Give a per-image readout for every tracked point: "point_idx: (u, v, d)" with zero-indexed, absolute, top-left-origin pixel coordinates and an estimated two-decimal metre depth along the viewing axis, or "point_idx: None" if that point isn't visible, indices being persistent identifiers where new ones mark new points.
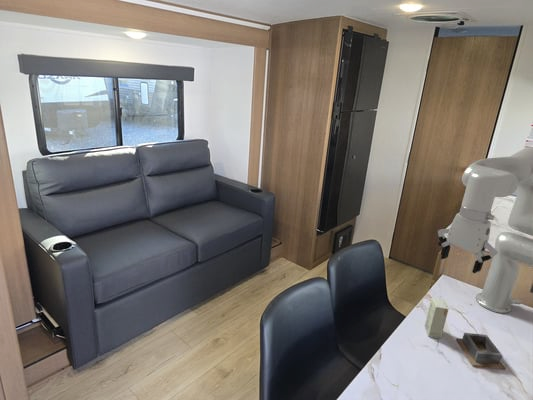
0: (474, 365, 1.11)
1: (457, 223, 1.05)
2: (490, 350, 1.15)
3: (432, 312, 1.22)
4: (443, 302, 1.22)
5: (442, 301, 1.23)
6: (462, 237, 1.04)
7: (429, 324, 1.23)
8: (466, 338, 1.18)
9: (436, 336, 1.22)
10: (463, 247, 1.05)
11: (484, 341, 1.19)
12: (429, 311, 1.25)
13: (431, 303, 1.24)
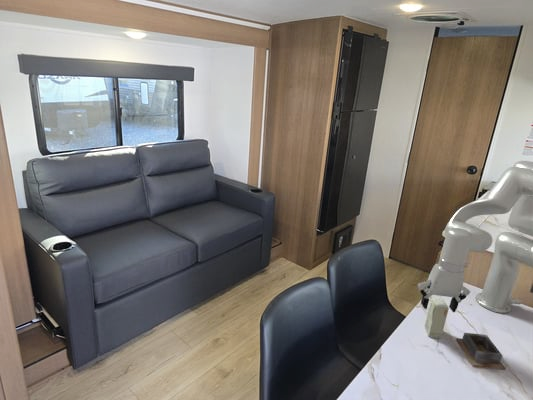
0: (474, 365, 1.11)
1: (442, 277, 1.15)
2: (490, 350, 1.15)
3: (432, 312, 1.22)
4: (443, 302, 1.22)
5: (442, 301, 1.23)
6: (447, 287, 1.16)
7: (429, 324, 1.23)
8: (466, 338, 1.18)
9: (436, 336, 1.22)
10: (447, 295, 1.18)
11: (484, 341, 1.19)
12: (429, 311, 1.25)
13: (431, 303, 1.24)
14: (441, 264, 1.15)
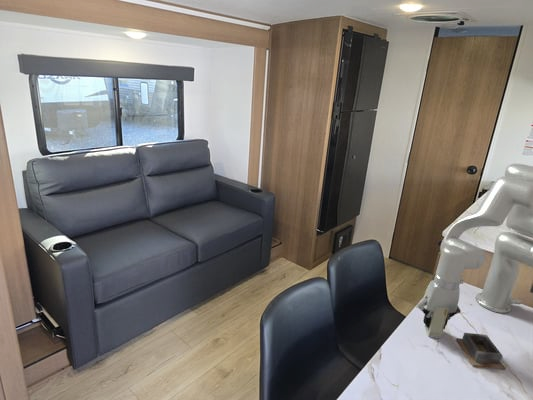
0: (474, 365, 1.11)
1: (437, 294, 1.18)
2: (490, 350, 1.15)
3: None
4: None
5: None
6: (443, 304, 1.19)
7: None
8: (466, 338, 1.18)
9: (436, 336, 1.22)
10: None
11: (484, 341, 1.19)
12: None
13: None
14: (437, 281, 1.18)
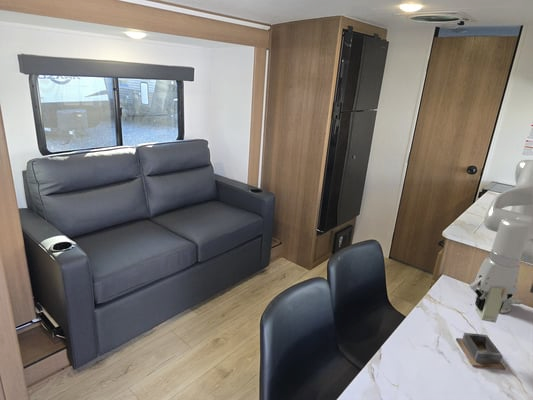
0: (474, 365, 1.11)
1: (494, 272, 1.05)
2: (490, 350, 1.15)
3: None
4: None
5: None
6: (500, 283, 1.06)
7: None
8: (466, 338, 1.18)
9: (491, 320, 1.10)
10: None
11: (484, 341, 1.19)
12: None
13: None
14: (494, 258, 1.05)
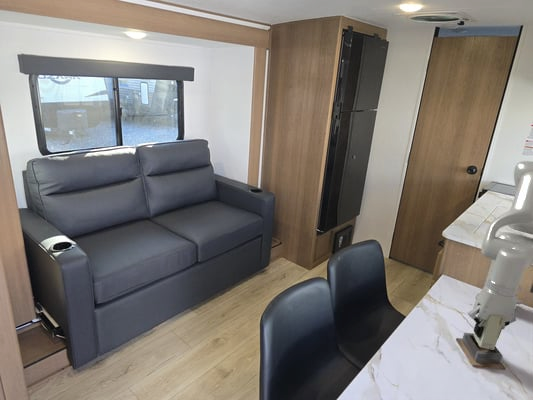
0: (474, 365, 1.11)
1: (493, 301, 1.07)
2: (490, 350, 1.15)
3: None
4: None
5: None
6: (498, 312, 1.08)
7: None
8: (466, 338, 1.18)
9: (489, 347, 1.11)
10: None
11: None
12: (480, 320, 1.14)
13: None
14: (492, 287, 1.07)
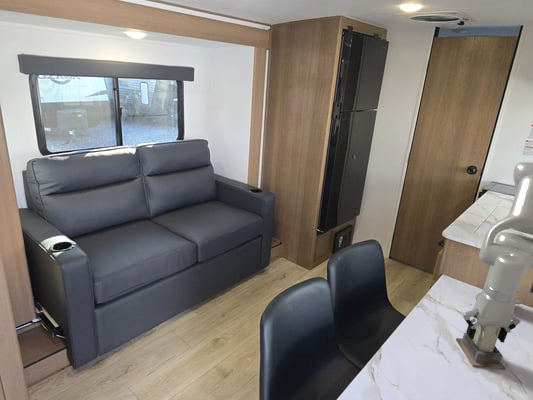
0: (474, 365, 1.11)
1: (491, 307, 1.08)
2: None
3: (481, 331, 1.12)
4: None
5: None
6: (496, 318, 1.09)
7: (477, 344, 1.14)
8: (466, 338, 1.18)
9: None
10: (495, 325, 1.10)
11: None
12: (476, 330, 1.16)
13: None
14: (490, 293, 1.08)
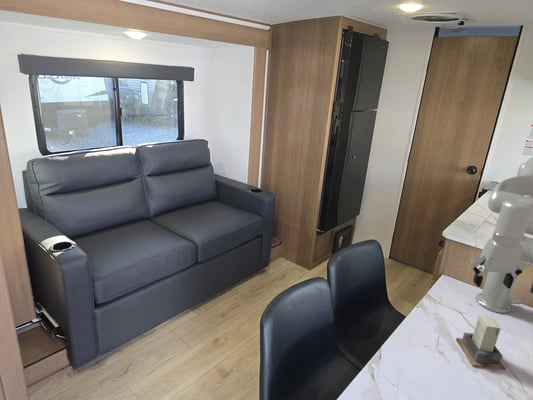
0: (474, 365, 1.11)
1: (498, 253, 1.09)
2: None
3: (481, 331, 1.12)
4: (492, 320, 1.13)
5: (491, 319, 1.14)
6: (503, 263, 1.10)
7: (478, 344, 1.14)
8: (466, 338, 1.18)
9: None
10: (502, 271, 1.11)
11: None
12: (476, 330, 1.16)
13: (479, 321, 1.15)
14: (497, 239, 1.09)
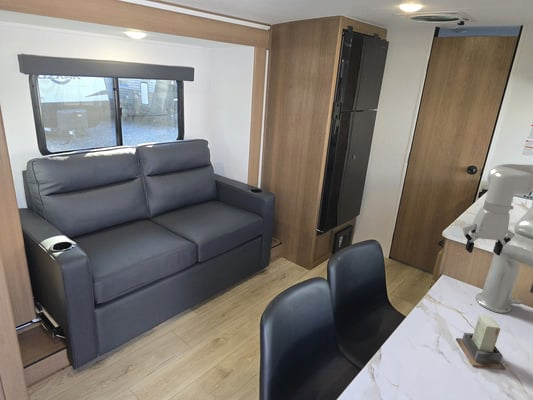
0: (474, 365, 1.11)
1: (488, 220, 1.19)
2: None
3: (481, 331, 1.12)
4: (492, 320, 1.13)
5: (491, 319, 1.14)
6: (492, 230, 1.19)
7: (478, 344, 1.14)
8: (466, 338, 1.18)
9: None
10: (492, 238, 1.21)
11: None
12: (476, 330, 1.16)
13: (479, 321, 1.15)
14: (487, 207, 1.18)
